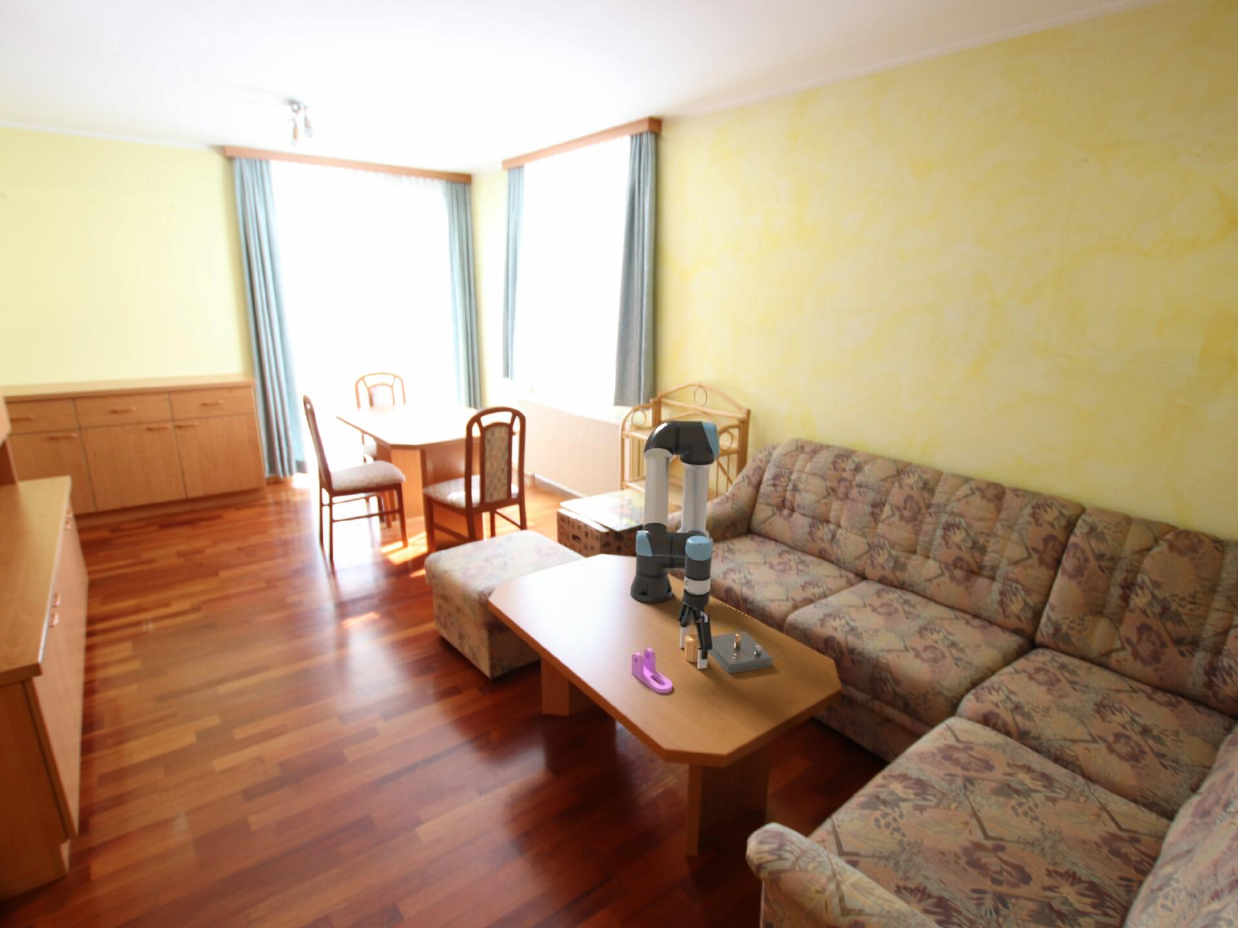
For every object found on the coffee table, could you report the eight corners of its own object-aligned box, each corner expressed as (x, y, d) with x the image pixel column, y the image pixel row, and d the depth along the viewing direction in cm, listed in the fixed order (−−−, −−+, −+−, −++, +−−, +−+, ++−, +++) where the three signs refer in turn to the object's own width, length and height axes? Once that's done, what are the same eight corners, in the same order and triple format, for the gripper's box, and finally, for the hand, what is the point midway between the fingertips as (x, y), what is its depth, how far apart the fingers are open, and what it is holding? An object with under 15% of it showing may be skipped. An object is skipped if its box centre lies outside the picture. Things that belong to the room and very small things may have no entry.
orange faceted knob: (681, 654, 194) (682, 635, 193) (697, 651, 196) (698, 633, 195) (688, 663, 190) (689, 644, 188) (704, 660, 191) (705, 641, 190)
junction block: (703, 646, 199) (705, 625, 198) (744, 639, 204) (745, 619, 202) (728, 673, 185) (730, 651, 183) (771, 666, 189) (773, 644, 188)
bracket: (631, 673, 184) (632, 651, 182) (646, 667, 187) (647, 645, 186) (660, 695, 174) (661, 672, 172) (676, 689, 177) (677, 666, 175)
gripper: (668, 574, 197) (665, 639, 203) (703, 609, 175) (699, 680, 181) (691, 572, 200) (687, 635, 205) (728, 605, 178) (723, 676, 183)
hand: (692, 656), depth 193 cm, fingers open, 12 cm apart
